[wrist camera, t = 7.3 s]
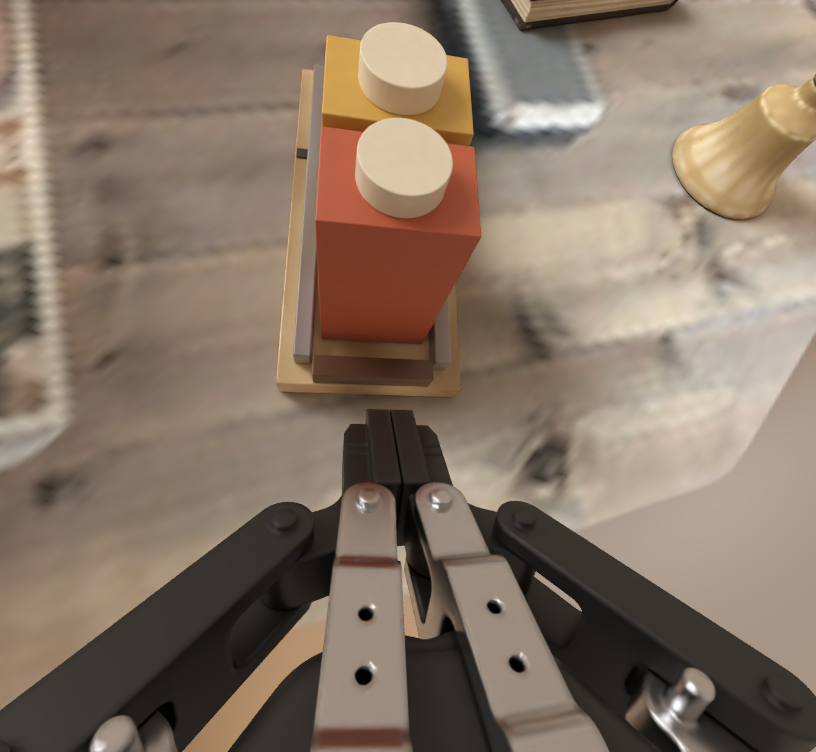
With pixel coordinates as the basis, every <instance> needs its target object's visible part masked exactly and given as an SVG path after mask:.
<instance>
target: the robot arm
mask: <svg viewBox="0 0 816 752" xmlns="http://www.w3.org/2000/svg"><path fill="white" fill-rule="evenodd" d="M397 546H405V550H406V559H405V566H404V571H405V576H406V580H407V585H408V589H409V593H410V598H411V602H412V606H413V611H414V616H415V620H416V624H417V628H418V634H419V638H415V637H410V636H405V635H404V614H403V592H402V571H401V562H400V561H398V559H397ZM536 571H537V572H538V573H539V574H541V575H542V576H543V577H545V578H546V579H547V580H549V581H550V582H551V583H553V584H554V585H555V586H557V587H558V588H559V589H561V590H562V591H563V592H565V593H566V594H567V595H569V596H570V597H572V598H573V599H574V600H575V601H576V602H577V603H578V604H579V606H580V608H581V610H582V612H581V611H579V610H577V609H576V608H574V607H573V606H572V605H571V604H569V603H568V602H567V601H565V600H564V599H563V598H561V597H560V596H559V595H557V594H556V593H555V592H553V591H552V590H550V588H548V587H547V586H546V585H544V584H543V583H542V582H540V581H539V580H538V579H536V578H535V577H534V575H535V572H536ZM326 596H329V604H328V612H327V621H326V629H325V638H324V646H323V652H321V653H319V654H317V655H315V656H313V657H311V658H310V659H308V660H307V661H305V662H303V663H302V664H301V665H299V666H298V667H297V668H296V669H294V670H293V671H292V672H291V673H290V674H289V675H288V676H287V677H286V678H285V679H284V680H283V681H282V682H281V683H280V684H279V686H278V687H277V688H276V689H275V691H274V692H273V693H272V695H271V696H270V697H269V698H268V700H267V701H266V702H265V704H264V705H263V706H262V708H261V709H260V710H259V711H258V713H257V714H256V715H255V717H254V718H253V719H252V721H251V722H250V723H249V725H248V726H247V727H246V729H245V730H244V731H243V732H242V734H241V735H240V736H239V738H238V739H237V740H236V741H235V743H234V744H233V745H232V747H231V748H230V749H229V751H228V752H810V751H811V750H812V749H813V748H815V747H816V696H815V695H814V694H813V693H812V691H811V690H810V689H809V688H807V686H806V685H805V684H804V683H803V682H802V681H800V680H799V679H798V678H797V677H796V676H795V675H793V674H792V673H791V672H789V671H788V670H786V669H785V668H783V667H782V666H780V665H779V664H777V663H776V662H774V661H773V660H771V659H770V658H768V657H766V656H765V655H763V654H762V653H760V652H759V651H757V650H755V649H754V648H753V647H751V646H750V645H748V644H746V643H745V642H743V641H742V640H740V639H738V638H737V637H736V636H734V635H733V634H731V633H729V632H728V631H726V630H725V629H723V628H722V627H720V626H719V625H717V624H716V623H714V622H712V621H711V620H709V619H708V618H706V617H705V616H703V615H702V614H700V613H699V612H697V611H695V610H694V609H692V608H691V607H689V606H688V605H686V604H685V603H683V602H681V601H680V600H678V599H677V598H675V597H674V596H672V595H671V594H669V593H668V592H666V591H664V590H663V589H661V588H660V587H658V586H657V585H655V584H654V583H652V582H651V581H649V580H648V579H646V578H644V577H643V576H641V575H640V574H638V573H637V572H635V571H634V570H632V569H631V568H629V567H627V566H626V565H624V564H623V563H621V562H620V561H618V560H617V559H615V558H614V557H612V556H610V555H609V554H607V553H606V552H604V551H603V550H601V549H600V548H598V547H597V546H595V545H593V544H592V543H590V542H589V541H587V540H586V539H584V538H583V537H581V536H580V535H578V534H576V533H575V532H573V531H572V530H570V529H569V528H567V527H566V526H564V525H563V524H561V523H559V522H558V521H556V520H555V519H553V518H552V517H550V516H549V515H547V514H546V513H544V512H542V511H541V510H539V509H538V508H536V507H534V506H533V505H530V504H528V503H525V502H521V501H510V502H506V503H504V504H502V505H501V506H500V507H499V509H498V512H494V511H490V510H486V509H482V508H478V507H475V506H473V505H471V504H469V503H467V501H466V498H465V497H464V495H463V494H462V493H461V492H460V491H459V490H458V489H457V488H455V487H453V485H452V481H451V478H450V475H449V472H448V469H447V466H446V463H445V460H444V457H443V453H442V450H441V447H440V444H439V441H438V438H437V435H436V434H435V433H434V432H433V431H432V430H431V429H430V428H429V427H428V426H423V425H416V422H415V418H414V414H413V411H412V410H390V412H389V410H377V409H367V412H366V422H365V424H350V426H349V427H348V429H347V430H346V431H345V433H344V446H343V464H342V496H341V497H340V499H339V500H338V501H337V502H336V503H335V504H333V505H332V506H330V507H328V508H325V509H322V510H319V511H315V512H311V511H310V510H309V509H308V508H307V507H305V506H304V505H302V504H299V503H294V502H281V503H277V504H274V505H271V506H269V507H267V508H266V509H264V510H263V511H262V512H260V513H259V514H258V515H256V516H255V517H254V518H252V519H251V520H250V521H248V522H247V523H246V524H244V525H243V526H242V527H241V528H239V529H238V530H237V531H235V532H234V533H233V534H231V535H230V536H229V537H227V538H226V539H225V540H223V541H222V542H221V543H220V544H218V545H217V546H216V547H214V548H213V549H212V550H210V551H209V552H208V553H206V554H205V555H204V556H202V557H201V558H200V559H198V560H197V561H196V562H195V563H193V564H192V565H191V566H189V567H188V568H187V569H185V570H184V571H183V572H181V573H180V574H179V575H177V576H176V577H175V578H174V579H172V580H171V581H170V582H168V583H167V584H166V585H164V586H163V587H162V588H160V589H159V590H158V591H156V592H155V593H154V594H152V595H151V596H150V597H149V598H147V599H146V600H145V601H143V602H142V603H141V604H139V605H138V606H137V607H135V608H134V609H133V610H131V611H130V612H129V613H128V614H126V615H125V616H124V617H122V618H121V619H120V620H118V621H117V622H116V623H114V624H113V625H112V626H110V627H109V628H108V629H107V630H105V631H104V632H103V633H101V634H100V635H99V636H97V637H96V638H95V639H93V640H92V641H91V642H89V643H88V644H87V645H85V646H84V647H83V648H82V649H80V650H79V651H78V652H76V653H75V654H74V655H72V656H71V657H70V658H68V659H67V660H66V661H64V662H63V663H62V664H61V665H59V666H58V667H57V668H55V669H54V670H53V671H51V672H50V673H49V674H47V675H46V676H45V677H43V678H42V679H41V680H39V681H38V682H37V683H36V684H34V685H33V686H32V687H30V688H29V689H28V690H26V691H25V692H24V693H22V694H21V695H20V696H18V697H17V698H16V699H15V700H13V701H12V702H11V703H9V704H8V705H7V706H5V707H4V708H3V709H1V710H0V752H182V751H183V750H184V749H185V748H186V746H187V745H188V744H189V743H190V742H191V741H192V740H193V739H194V738H195V736H196V735H197V734H198V733H199V732H200V731H201V730H202V729H203V727H204V726H205V725H206V724H207V723H208V722H209V721H210V719H211V718H212V717H213V716H214V715H215V714H216V713H217V712H218V711H219V709H220V708H221V707H222V706H223V705H224V704H225V703H226V701H228V699H229V698H230V697H231V696H232V695H233V694H234V693H235V692H236V690H237V689H238V688H239V687H240V686H241V685H242V684H243V682H244V681H245V680H246V679H247V678H248V677H249V676H250V675H251V674H252V672H253V671H254V670H255V669H256V668H257V667H258V666H259V665H260V663H261V662H262V661H263V660H264V659H265V658H266V657H267V655H268V654H269V653H270V652H271V651H272V650H273V649H274V648H275V647H276V645H277V644H278V643H279V642H280V641H281V640H282V639H283V638H284V637H285V635H286V634H287V633H288V632H289V631H290V630H291V629H292V628H293V626H294V625H295V624H296V623H297V622H298V621H299V620H300V619H301V617H302V616H303V615H304V614H305V613H306V612H307V610H308V609H309V607H310V605H311V603H312V602H313V601H316V600H318V599H321V598H324V597H326Z"/></svg>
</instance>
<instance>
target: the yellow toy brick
mask: <svg viewBox="0 0 816 752" xmlns="http://www.w3.org/2000/svg"><path fill="white" fill-rule="evenodd" d="M389 118H406V119H411V120H415V121H418V122H420V123H423V124H425V125H427V126H429V127H430V128H432V129H433V130H434V131H436V132H437V133H438V134H439V135H440V136H441V137H442V138H443V139H444V141H445V142H446V143H448V144H455V145H462V146H469V145H470V143H471V140H472V137H473V121H472V108H471V95H470V81H469V68H468V59H465V58H459V57H453V56H447V55H446V54H445V51H444V49H443V48H442V46H441V45H440V43H439V42H438V41H437V40H436V39H435V38H434V37H433V36H431V35H430V34H429V33H427V32H426V31H424V30H422V29H420V28H418V27H415V26H412V25H409V24H405V23H394V22H393V23H384V24H380V25H377V26H375V27H373V28H371V29H370V30H369V31H368V32H367V33H366V34H365V35H364V37H363V39H362V41H360V40H354V39H348V38H342V37H337V36H331V35H327V39H326V55H325V70H324V86H323V102H322V127H330V128H337V129H344V130H352V131H359V132H364V131H365V130H366V129H367V128H368V127H369V126H371V125H372V124H374V123H376V122H378V121H381V120H384V119H389Z"/></svg>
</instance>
